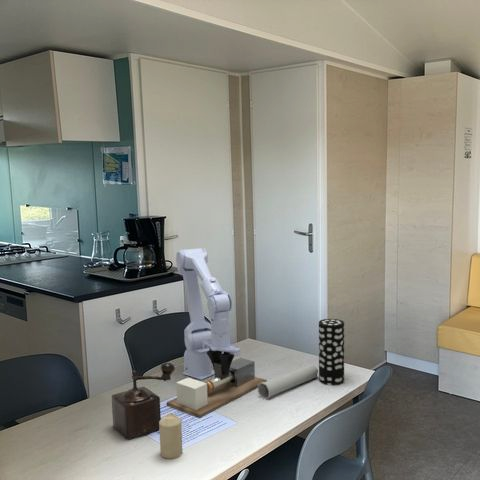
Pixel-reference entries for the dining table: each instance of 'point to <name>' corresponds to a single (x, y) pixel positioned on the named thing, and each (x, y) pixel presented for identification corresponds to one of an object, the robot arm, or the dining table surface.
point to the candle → (170, 436)
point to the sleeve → (242, 371)
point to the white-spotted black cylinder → (331, 351)
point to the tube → (287, 381)
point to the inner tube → (219, 377)
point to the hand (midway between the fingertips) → (221, 372)
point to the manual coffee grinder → (138, 407)
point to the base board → (219, 397)
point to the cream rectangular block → (192, 393)
